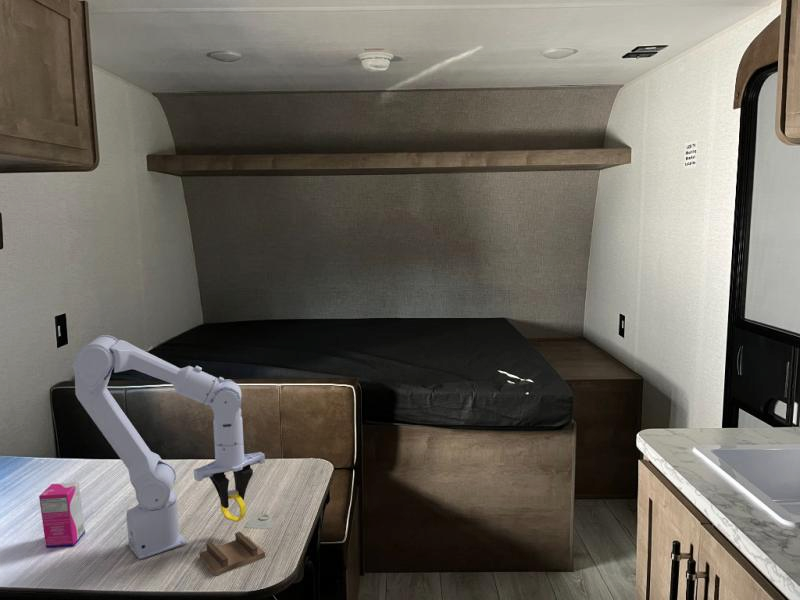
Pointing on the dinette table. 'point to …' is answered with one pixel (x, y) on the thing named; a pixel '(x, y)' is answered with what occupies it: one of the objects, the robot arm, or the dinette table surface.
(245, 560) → the rack
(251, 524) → the mounting bracket
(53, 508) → the supplement box
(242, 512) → the watch
